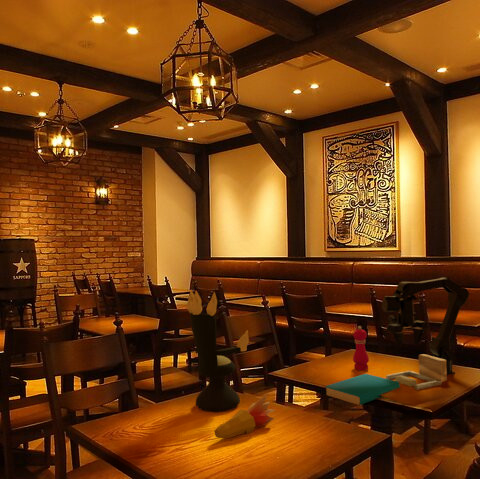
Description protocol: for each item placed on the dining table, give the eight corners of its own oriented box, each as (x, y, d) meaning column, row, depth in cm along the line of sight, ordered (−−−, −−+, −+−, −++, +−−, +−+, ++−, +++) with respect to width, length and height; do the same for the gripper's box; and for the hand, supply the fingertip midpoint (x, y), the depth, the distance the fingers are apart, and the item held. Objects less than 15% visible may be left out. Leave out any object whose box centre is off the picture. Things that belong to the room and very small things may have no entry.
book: (325, 386, 191) (364, 372, 207) (325, 397, 191) (365, 382, 207) (360, 396, 178) (400, 380, 193) (361, 407, 178) (400, 391, 193)
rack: (409, 377, 210) (409, 370, 210) (441, 387, 194) (441, 380, 194) (386, 382, 204) (386, 375, 204) (417, 393, 189) (416, 385, 189)
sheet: (424, 377, 210) (423, 354, 210) (447, 384, 199) (446, 359, 199) (419, 378, 209) (418, 355, 209) (441, 385, 198) (440, 360, 198)
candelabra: (252, 402, 186) (248, 285, 186) (218, 421, 167) (214, 291, 167) (213, 394, 196) (209, 284, 196) (177, 412, 177) (172, 289, 177)
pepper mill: (371, 367, 228) (369, 325, 228) (366, 371, 222) (364, 327, 222) (356, 365, 232) (354, 324, 232) (351, 369, 226) (349, 326, 226)
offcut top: (401, 380, 202) (401, 375, 202) (416, 384, 195) (416, 379, 195) (395, 381, 201) (395, 376, 201) (410, 386, 194) (410, 381, 194)
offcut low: (401, 384, 203) (400, 379, 203) (419, 390, 194) (419, 385, 194) (394, 385, 201) (393, 381, 201) (412, 392, 192) (412, 387, 192)
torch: (216, 453, 151) (269, 420, 168) (230, 448, 145) (283, 414, 163) (205, 428, 153) (258, 398, 170) (218, 422, 147) (272, 391, 165)
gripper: (409, 306, 224) (410, 340, 224) (377, 310, 216) (378, 345, 216) (427, 309, 214) (429, 344, 214) (395, 313, 206) (396, 350, 206)
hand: (407, 346), depth 213 cm, fingers open, 9 cm apart
